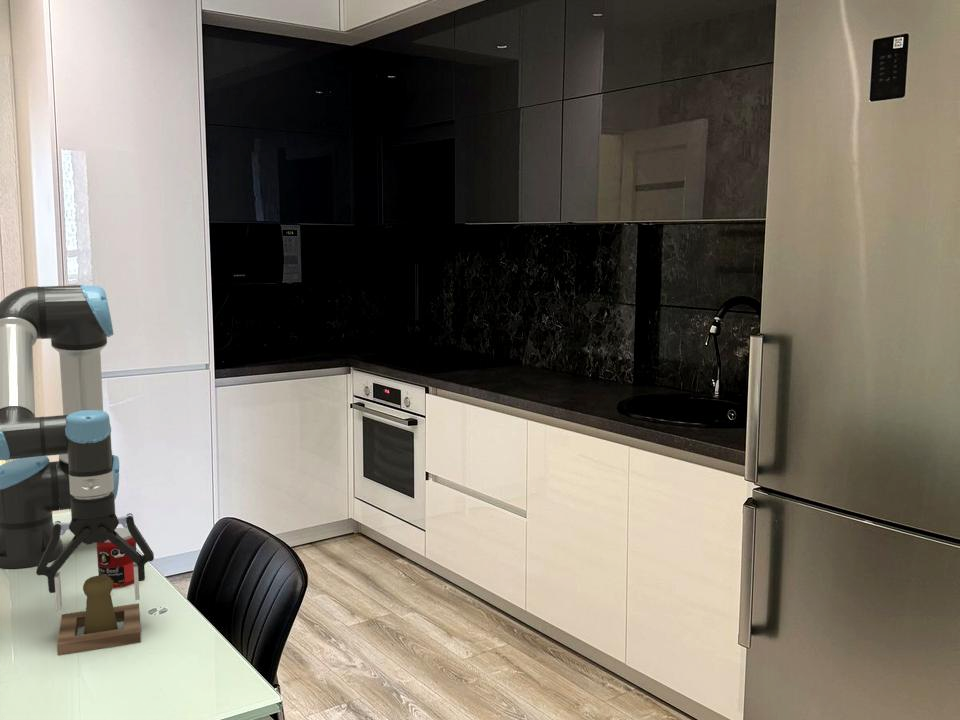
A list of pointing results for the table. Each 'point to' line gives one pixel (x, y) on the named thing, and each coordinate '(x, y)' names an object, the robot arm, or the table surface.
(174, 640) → the table surface
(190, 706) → the table surface
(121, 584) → the canned food
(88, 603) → the cork
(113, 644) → the socket plate
